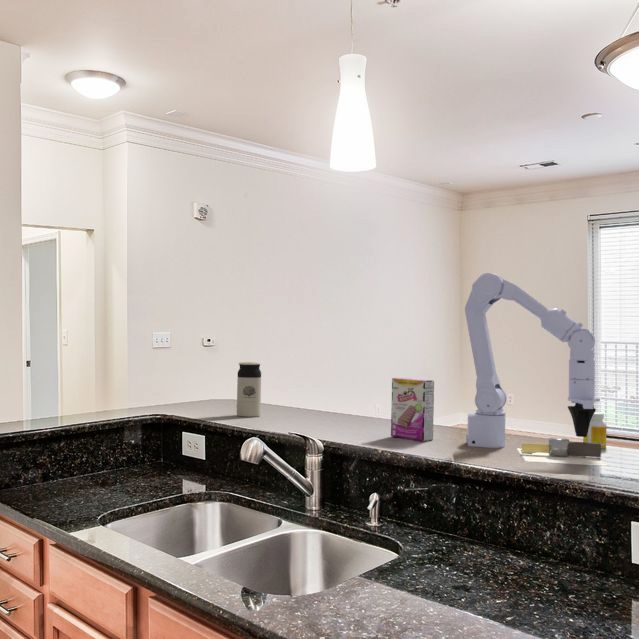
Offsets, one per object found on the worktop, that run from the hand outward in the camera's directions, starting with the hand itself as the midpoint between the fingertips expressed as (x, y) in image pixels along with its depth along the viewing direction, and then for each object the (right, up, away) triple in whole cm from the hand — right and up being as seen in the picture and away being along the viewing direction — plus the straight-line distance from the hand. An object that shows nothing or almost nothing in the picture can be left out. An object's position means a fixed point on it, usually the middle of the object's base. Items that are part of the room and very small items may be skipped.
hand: (581, 436), depth 154 cm
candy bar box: (-37, -5, +23) cm, 44 cm away
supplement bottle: (+7, -6, +9) cm, 13 cm away
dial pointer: (-7, -4, -4) cm, 9 cm away
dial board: (-7, -5, -5) cm, 10 cm away
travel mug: (-86, -5, +65) cm, 108 cm away
